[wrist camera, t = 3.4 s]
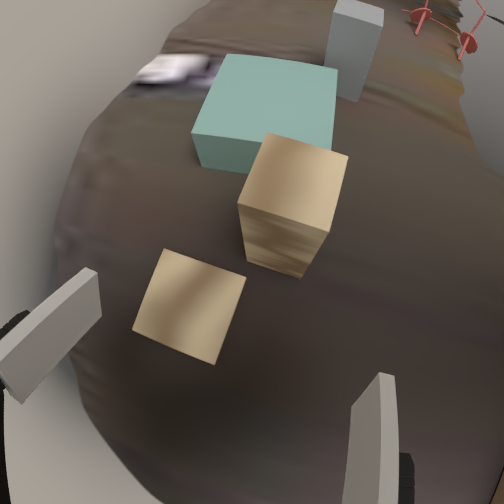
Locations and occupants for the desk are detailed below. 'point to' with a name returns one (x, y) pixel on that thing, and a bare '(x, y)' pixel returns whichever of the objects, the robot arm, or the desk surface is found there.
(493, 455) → the desk surface
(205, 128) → the teal base block
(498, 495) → the decorative block
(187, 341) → the maple swatch tile
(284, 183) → the maple pillar
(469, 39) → the figurine
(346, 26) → the slate-grey pillar
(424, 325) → the desk surface
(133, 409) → the desk surface
